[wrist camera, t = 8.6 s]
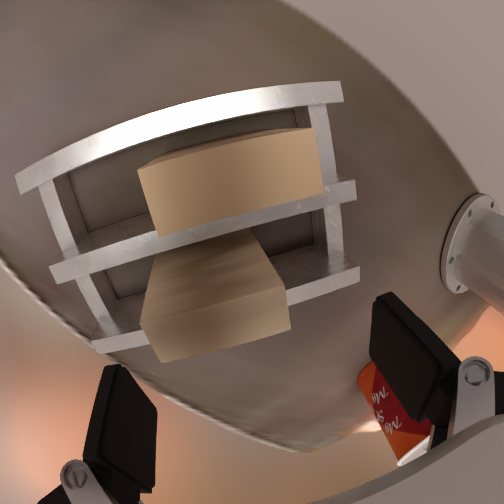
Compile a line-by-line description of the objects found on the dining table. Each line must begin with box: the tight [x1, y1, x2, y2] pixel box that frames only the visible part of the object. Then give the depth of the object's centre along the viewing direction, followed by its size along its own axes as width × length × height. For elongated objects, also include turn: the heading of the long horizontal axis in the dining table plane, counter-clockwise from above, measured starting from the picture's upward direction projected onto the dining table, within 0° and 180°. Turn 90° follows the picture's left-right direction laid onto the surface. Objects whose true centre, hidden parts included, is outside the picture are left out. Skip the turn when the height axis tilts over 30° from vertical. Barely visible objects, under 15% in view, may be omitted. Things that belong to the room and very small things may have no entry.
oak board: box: [137, 128, 324, 237], centre depth 13 cm, size 6×2×9 cm, turn 102°
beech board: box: [140, 227, 291, 363], centre depth 15 cm, size 6×2×9 cm, turn 101°
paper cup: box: [358, 361, 432, 466], centre depth 24 cm, size 8×8×14 cm
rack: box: [15, 81, 360, 354], centre depth 16 cm, size 18×12×5 cm
